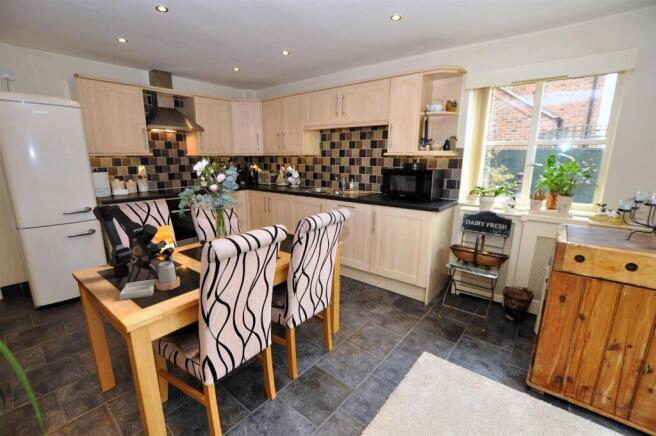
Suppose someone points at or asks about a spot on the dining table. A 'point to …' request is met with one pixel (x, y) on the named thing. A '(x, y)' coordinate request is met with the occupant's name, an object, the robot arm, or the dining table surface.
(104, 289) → the dining table surface
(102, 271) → the dining table surface
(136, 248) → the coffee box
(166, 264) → the can
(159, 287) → the collar
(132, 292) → the tray
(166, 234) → the orange juice
